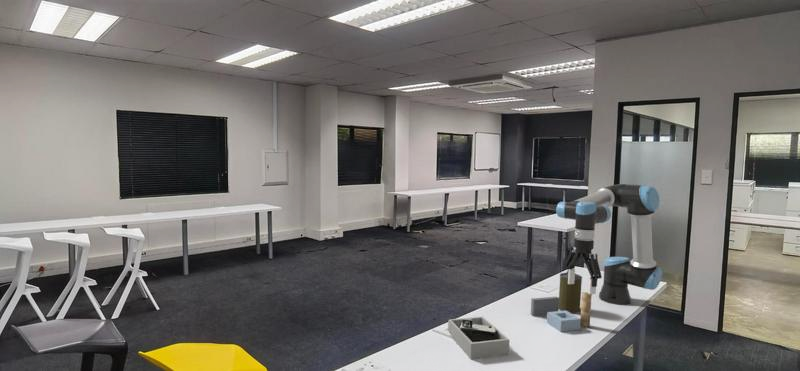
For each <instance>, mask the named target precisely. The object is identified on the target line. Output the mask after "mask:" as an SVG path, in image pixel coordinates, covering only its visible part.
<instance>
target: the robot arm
mask: <svg viewBox="0 0 800 371" xmlns="http://www.w3.org/2000/svg"><path fill="white" fill-rule="evenodd" d="M659 206H660V195H659V193H658V190H657V189H656V188H655V187H653V186H650V185H646V184H644V185H643V184H626V183H618V184H612V185H608V186H604V187H602V188H600V189H597V191H596V192H594V193H591V194H589V195H586V196H584V197H581V198H578V199H575V200H573V201H572V200H571V201H570V202H568V201H560V202H558V203H557V206H556V208H555V210H556V215H557V216H558V217H559V218H563V219H565V220H566V219H567V220H573V221H575V227H574V242H573V246H570V249H569V253H568V255H567V258H566V260H565V263H564V266H565V267H566V268H567V270H568V284H574V280H575V274H576V269H575V268H576V265H578V264H579V262H580V261H582V262H583V264H584V265H585V266H586V268H587V271H588V273H589V276H590V277H589V281H588V282H589V283H588V293H589V294H592V295H596V293H597V292H596V291H597V287H598V280H599V279H602V277H603V284H602V286H601V289H600V291H599V294H598V298H599V299H600V300H601V301H603V302H607V303H610V304H615V305H629V304H631V295H630V292H629V288H628V286H629V285H630V286H633V287H634V286H635V287H639V288H641V289H644V290H645V289H646V290H650V291H653V290H655V289H657V288H658V286H660V285H659V284H660V283H661V281H662V277H663V270H662V268H660V267H658V266H657V265H658V264H657V261H655V259H654V256H653V255H654V254H653V234H652V232H653V231H652V230H653V229H652V215H654V214H655V211H656V210H658V209H659ZM609 207H619V208H626V212H627V214H628V215H629V216H630V222H631V223H630V224H631V240H632V241H631V243H632V259H630V258H629V257H626V256H609V257H606V258H605V260H604V265H603V267H604V268H603V276H602V273H601V269H600V264H599V260H598V254H597V253H592V250H593V249H594V247H595V246H594V245H595V240H594V239H595V231H596V230H595V229H596V228H595V227H596V224H603V223H606V222H608V221H609V220H611V217H612V212H611V209H610V208H609Z"/></svg>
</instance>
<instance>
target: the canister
mask: <svg viewBox="0 0 800 371" xmlns="http://www.w3.org/2000/svg"><path fill="white" fill-rule="evenodd" d="M582 281H583V276H582V275H580V274H576V273H575V280H574V284H568V269H567V271H566V272H562V273H560V274H559V288H558V289H559V292H558V293H559V294H558V298H559V310H558V311H568V312H570V313H571V314H573V315H575V314H578V313H581V300H582V283H583V282H582Z"/></svg>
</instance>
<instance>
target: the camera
mask: <svg viewBox="0 0 800 371" xmlns="http://www.w3.org/2000/svg"><path fill="white" fill-rule="evenodd" d="M462 318H463V317H462ZM466 318H467V317H464V318H463V319H462V324H461V326H460V330H461V331H462V332H463V333H464V334H465V335H466V336H467V337H468V338H469V339H470V340H471V341H472V342H481V341H491V340H496V329H497V327H496V326H494V327H491V326H484V325H477V324H473V325H472V319H466ZM466 321H467V322H466ZM468 321H469V322H470V324H469V323H468ZM464 322H466V325H465V324H464Z"/></svg>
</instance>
